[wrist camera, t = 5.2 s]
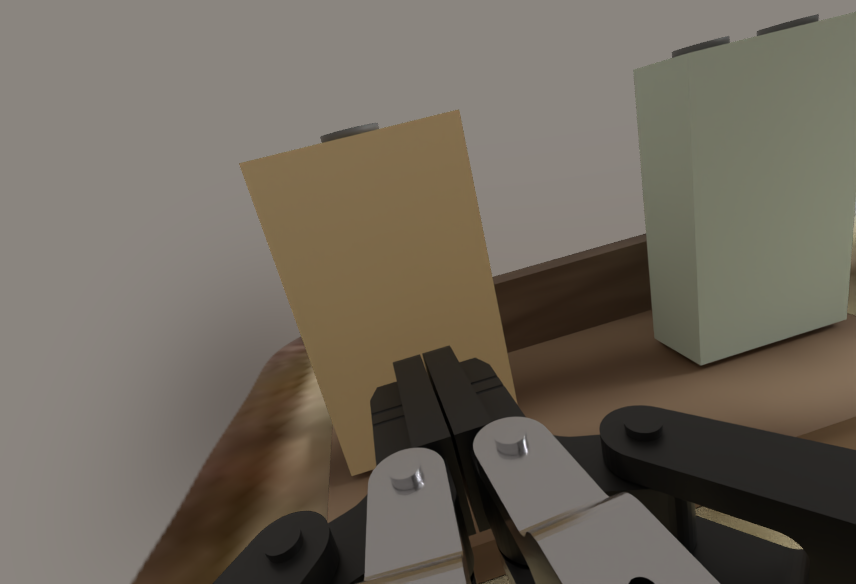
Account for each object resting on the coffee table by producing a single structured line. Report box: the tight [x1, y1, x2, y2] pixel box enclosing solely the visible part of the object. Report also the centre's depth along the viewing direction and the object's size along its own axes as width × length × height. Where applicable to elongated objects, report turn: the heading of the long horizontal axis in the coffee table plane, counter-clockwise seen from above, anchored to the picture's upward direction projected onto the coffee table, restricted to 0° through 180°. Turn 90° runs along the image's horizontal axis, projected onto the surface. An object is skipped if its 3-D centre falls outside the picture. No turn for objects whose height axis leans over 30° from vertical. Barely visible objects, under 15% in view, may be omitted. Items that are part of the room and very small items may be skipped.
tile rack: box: [327, 234, 856, 584], centre depth 19 cm, size 12×24×6 cm, turn 101°
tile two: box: [633, 12, 856, 365], centre depth 19 cm, size 3×7×12 cm, turn 101°
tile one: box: [239, 110, 518, 476], centre depth 17 cm, size 3×7×12 cm, turn 101°
